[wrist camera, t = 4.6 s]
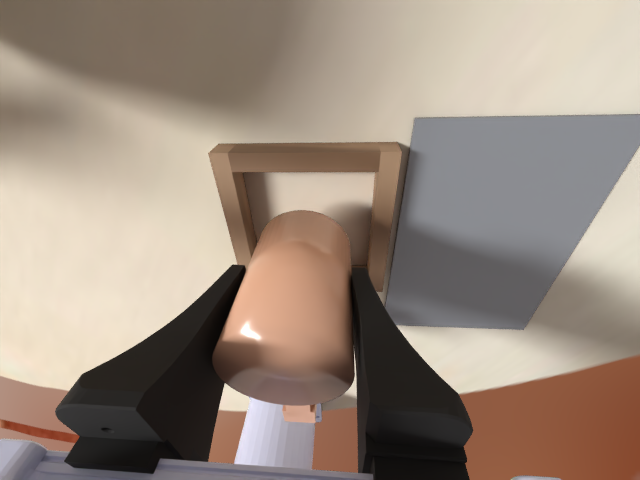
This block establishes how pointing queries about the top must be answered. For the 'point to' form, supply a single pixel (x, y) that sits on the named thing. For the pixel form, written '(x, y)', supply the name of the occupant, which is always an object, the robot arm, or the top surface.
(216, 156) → the holder
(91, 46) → the top surface
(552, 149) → the mat
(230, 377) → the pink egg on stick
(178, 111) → the top surface
